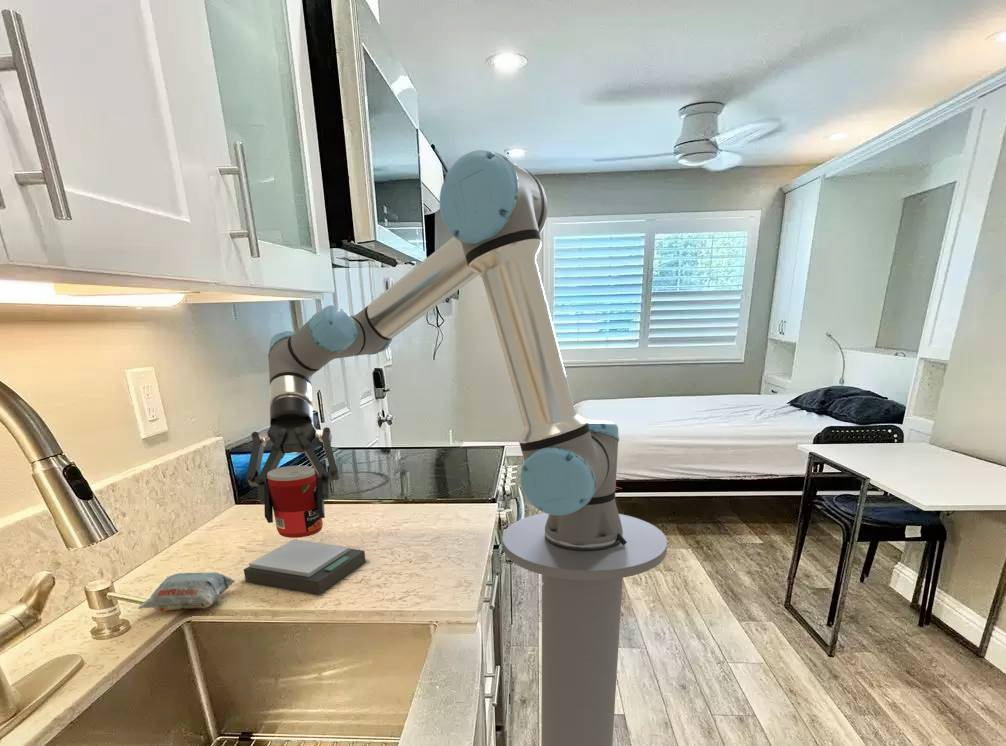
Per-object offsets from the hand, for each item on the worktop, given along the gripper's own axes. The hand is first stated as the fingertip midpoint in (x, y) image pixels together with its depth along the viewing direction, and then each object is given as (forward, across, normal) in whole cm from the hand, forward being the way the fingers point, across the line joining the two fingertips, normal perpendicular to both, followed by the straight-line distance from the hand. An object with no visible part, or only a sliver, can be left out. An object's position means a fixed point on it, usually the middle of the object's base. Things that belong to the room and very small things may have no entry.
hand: (295, 516), depth 97 cm
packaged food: (+12, +18, -5) cm, 22 cm away
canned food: (0, 0, -5) cm, 5 cm away
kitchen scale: (+6, 0, -11) cm, 12 cm away
